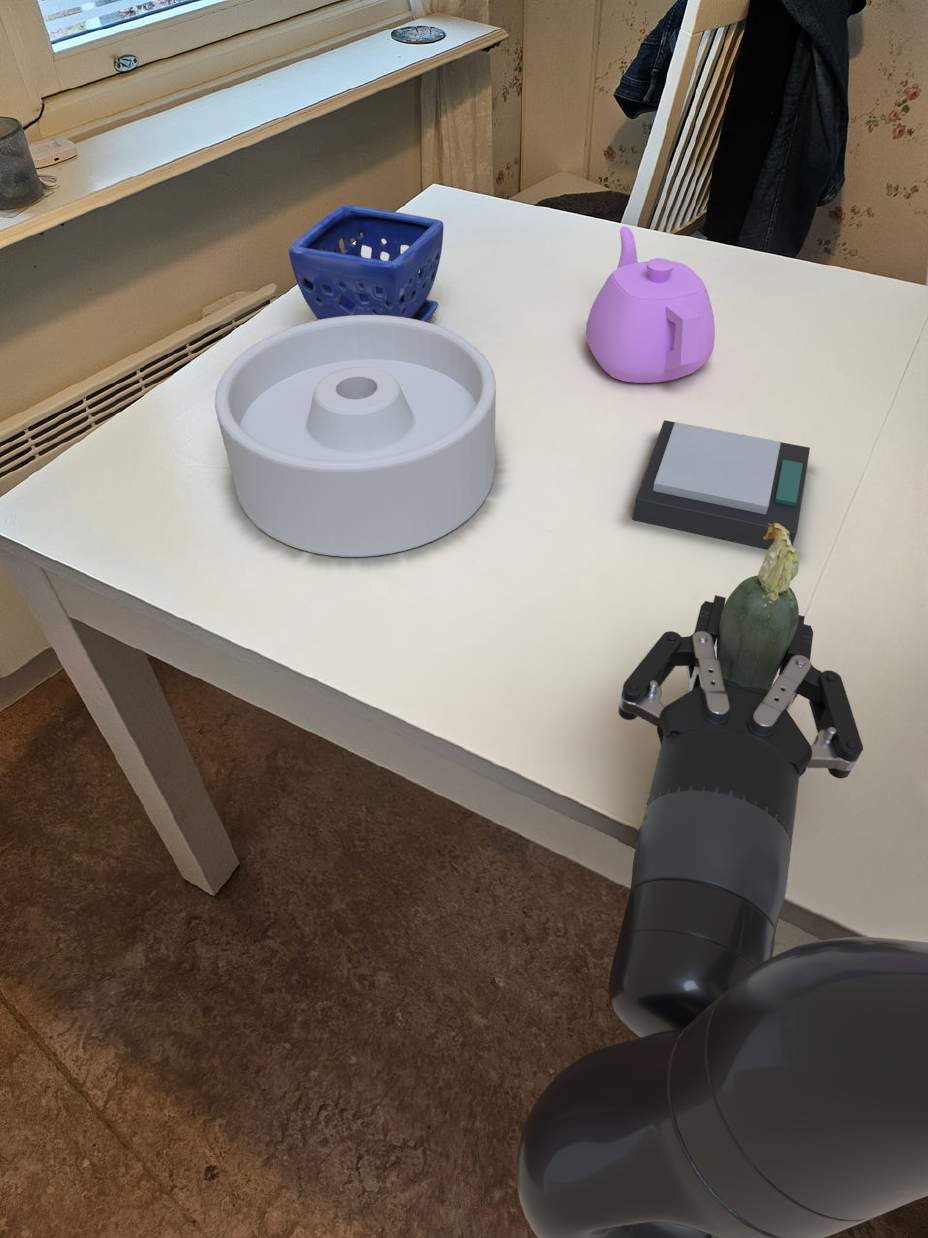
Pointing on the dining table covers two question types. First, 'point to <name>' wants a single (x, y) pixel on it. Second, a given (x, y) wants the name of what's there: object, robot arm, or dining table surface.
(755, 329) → the dining table surface
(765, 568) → the vegetable
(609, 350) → the teapot
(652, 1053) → the robot arm
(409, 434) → the container
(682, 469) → the scale
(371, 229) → the flower pot
